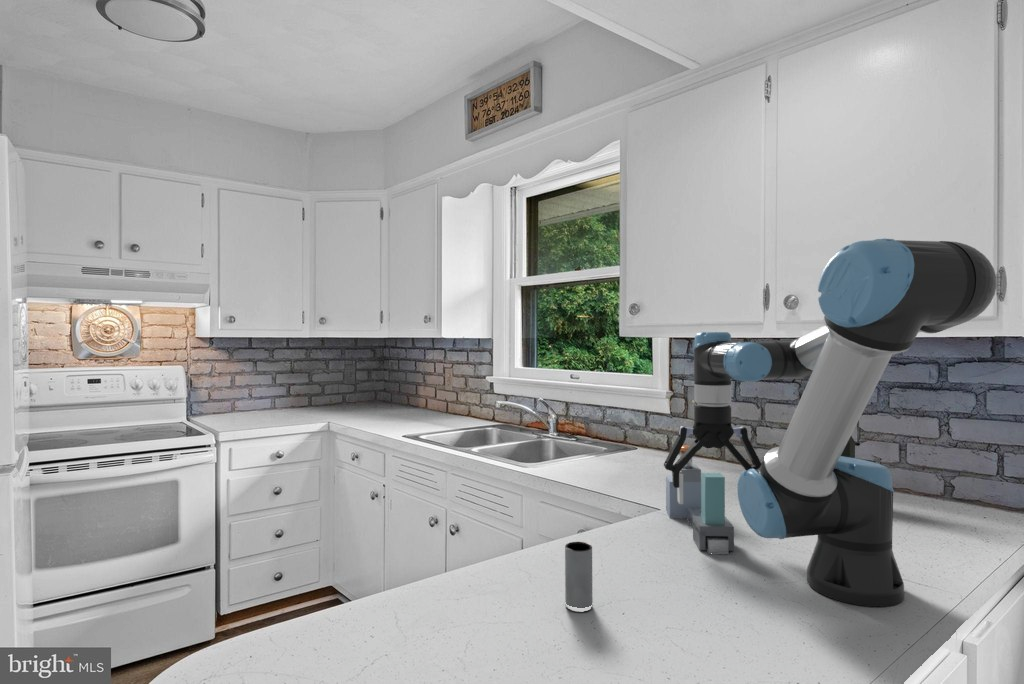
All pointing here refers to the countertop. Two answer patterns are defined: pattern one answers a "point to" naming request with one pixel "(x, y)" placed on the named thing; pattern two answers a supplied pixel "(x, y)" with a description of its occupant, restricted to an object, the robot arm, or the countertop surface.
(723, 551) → the rail
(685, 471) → the blue-grey stepped block
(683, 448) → the plunger
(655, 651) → the countertop surface
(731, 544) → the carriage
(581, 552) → the gray cylinder
